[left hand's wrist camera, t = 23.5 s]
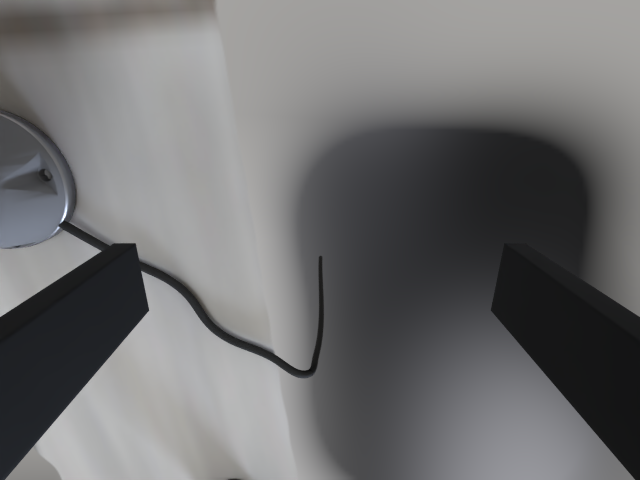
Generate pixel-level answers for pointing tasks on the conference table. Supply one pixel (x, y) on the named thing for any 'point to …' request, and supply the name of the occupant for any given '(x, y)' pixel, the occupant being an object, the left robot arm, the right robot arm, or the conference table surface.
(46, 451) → the conference table surface
